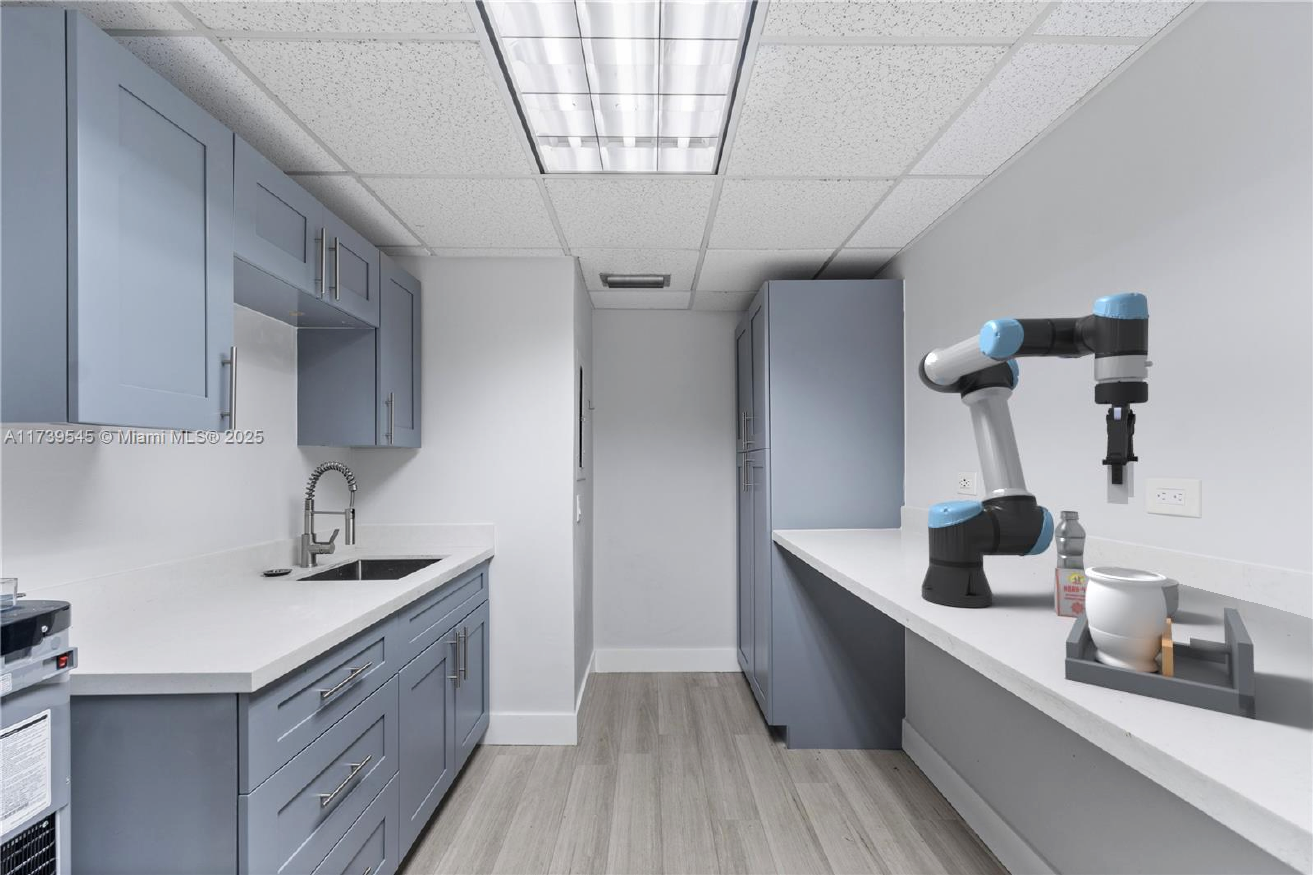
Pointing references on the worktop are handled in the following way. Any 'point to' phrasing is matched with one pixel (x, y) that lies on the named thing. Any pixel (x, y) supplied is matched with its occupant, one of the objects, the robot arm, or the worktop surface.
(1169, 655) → the plate
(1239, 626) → the tray
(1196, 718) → the worktop surface
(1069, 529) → the plastic bottle
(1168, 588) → the teacup
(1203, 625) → the worktop surface
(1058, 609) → the white red carton
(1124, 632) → the jar
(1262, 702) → the worktop surface
